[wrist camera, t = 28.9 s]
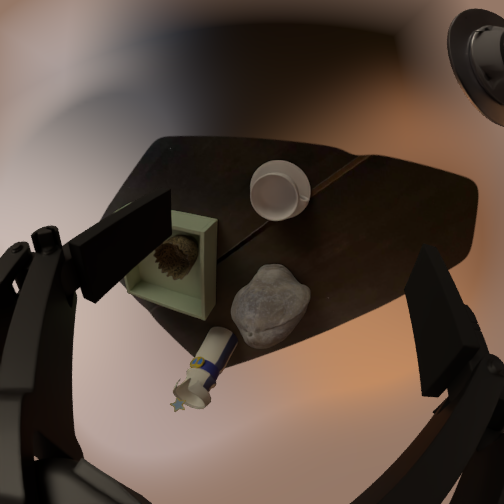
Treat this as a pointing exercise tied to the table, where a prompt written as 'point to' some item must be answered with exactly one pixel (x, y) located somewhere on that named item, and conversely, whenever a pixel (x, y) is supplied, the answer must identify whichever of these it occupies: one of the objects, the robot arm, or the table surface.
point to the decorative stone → (269, 306)
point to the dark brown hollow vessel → (177, 255)
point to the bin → (192, 285)
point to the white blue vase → (205, 369)
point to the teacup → (279, 190)
